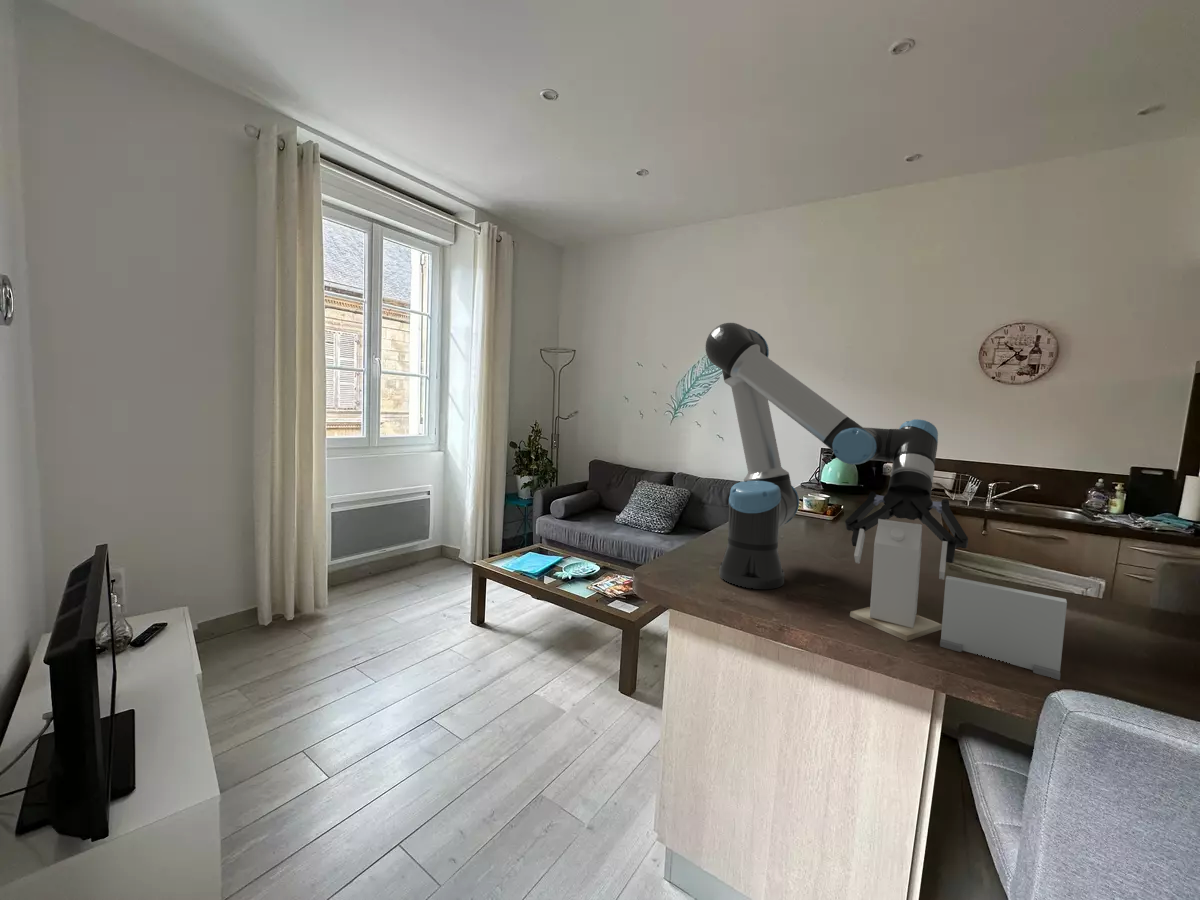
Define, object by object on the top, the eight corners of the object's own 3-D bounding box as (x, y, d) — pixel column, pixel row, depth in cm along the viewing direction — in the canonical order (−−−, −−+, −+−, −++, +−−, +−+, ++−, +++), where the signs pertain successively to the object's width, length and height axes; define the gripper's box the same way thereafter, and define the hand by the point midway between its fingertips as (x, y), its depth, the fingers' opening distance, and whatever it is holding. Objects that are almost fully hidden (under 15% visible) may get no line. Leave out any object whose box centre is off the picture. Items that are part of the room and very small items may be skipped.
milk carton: (874, 606, 95) (880, 515, 94) (916, 616, 91) (923, 521, 89) (869, 618, 90) (875, 521, 88) (913, 629, 85) (920, 528, 84)
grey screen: (939, 646, 81) (945, 579, 80) (942, 638, 84) (947, 574, 83) (1059, 680, 71) (1067, 604, 70) (1057, 669, 74) (1065, 597, 73)
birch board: (850, 616, 93) (850, 611, 92) (884, 607, 97) (884, 602, 97) (906, 641, 83) (907, 635, 83) (941, 629, 88) (942, 624, 88)
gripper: (985, 498, 92) (981, 593, 82) (847, 485, 108) (828, 563, 97) (988, 475, 88) (984, 572, 77) (843, 464, 103) (823, 543, 93)
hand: (897, 567), depth 87 cm, fingers open, 13 cm apart
